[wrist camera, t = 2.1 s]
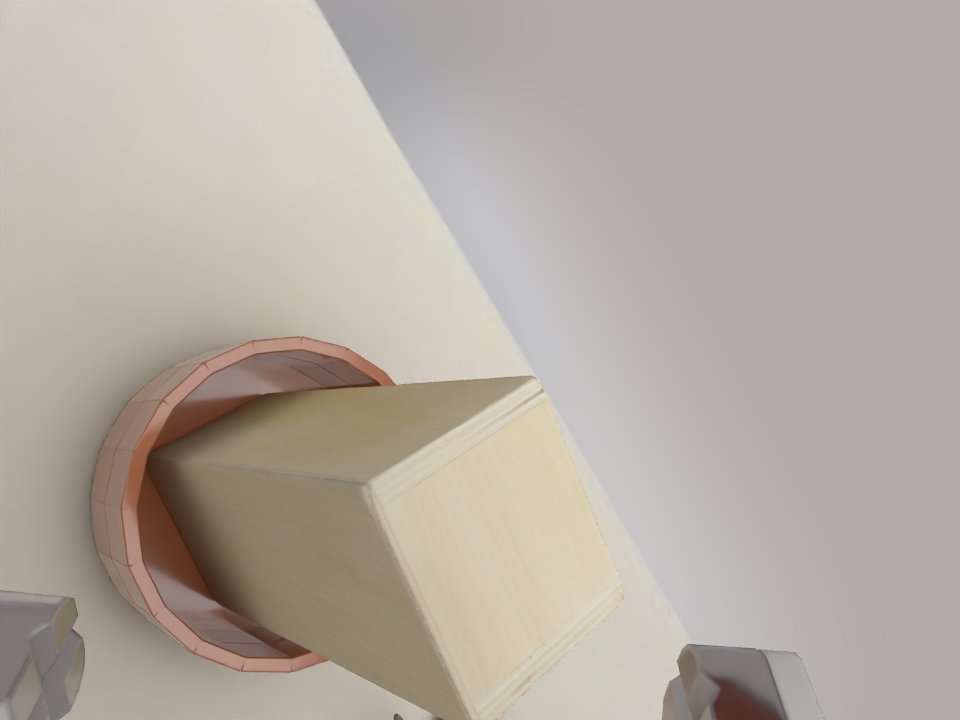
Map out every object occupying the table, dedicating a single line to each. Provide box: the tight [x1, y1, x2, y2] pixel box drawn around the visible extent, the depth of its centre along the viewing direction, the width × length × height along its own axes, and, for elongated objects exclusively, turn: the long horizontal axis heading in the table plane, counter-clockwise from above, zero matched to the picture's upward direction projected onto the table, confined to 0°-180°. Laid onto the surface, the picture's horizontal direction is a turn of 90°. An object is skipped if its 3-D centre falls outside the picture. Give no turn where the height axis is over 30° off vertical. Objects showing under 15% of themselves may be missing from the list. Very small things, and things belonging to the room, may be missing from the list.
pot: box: [90, 336, 396, 673], centre depth 39 cm, size 14×14×6 cm
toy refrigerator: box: [146, 376, 624, 720], centre depth 33 cm, size 8×7×21 cm
